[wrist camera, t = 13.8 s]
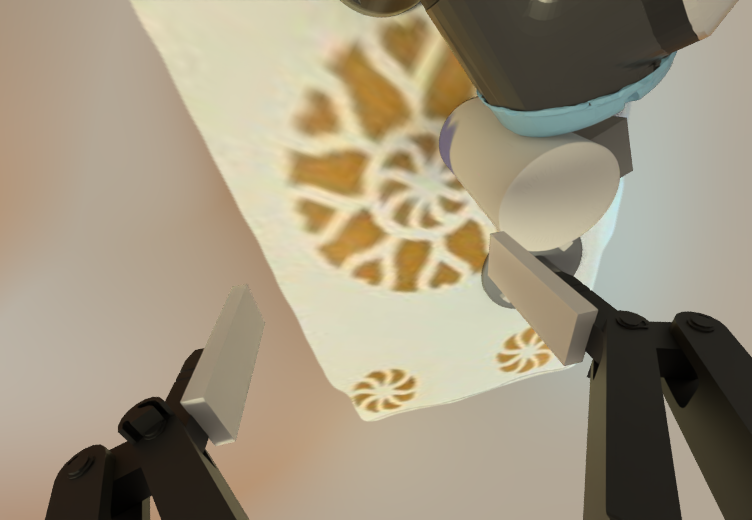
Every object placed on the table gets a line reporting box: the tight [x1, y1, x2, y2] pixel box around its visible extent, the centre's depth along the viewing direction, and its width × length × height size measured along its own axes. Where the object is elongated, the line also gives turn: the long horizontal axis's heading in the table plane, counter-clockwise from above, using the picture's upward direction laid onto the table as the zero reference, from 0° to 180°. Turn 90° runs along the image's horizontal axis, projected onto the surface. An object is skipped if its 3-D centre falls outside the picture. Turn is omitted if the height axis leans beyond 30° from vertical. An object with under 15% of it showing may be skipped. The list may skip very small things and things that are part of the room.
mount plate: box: [481, 237, 582, 309], centre depth 54 cm, size 18×18×2 cm
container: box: [439, 97, 620, 251], centre depth 33 cm, size 10×10×20 cm
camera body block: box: [572, 116, 633, 178], centre depth 43 cm, size 12×8×6 cm, turn 122°
